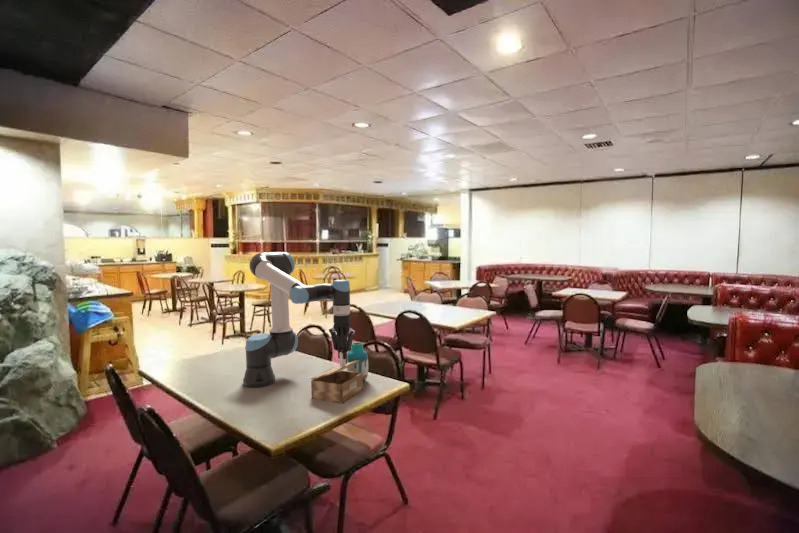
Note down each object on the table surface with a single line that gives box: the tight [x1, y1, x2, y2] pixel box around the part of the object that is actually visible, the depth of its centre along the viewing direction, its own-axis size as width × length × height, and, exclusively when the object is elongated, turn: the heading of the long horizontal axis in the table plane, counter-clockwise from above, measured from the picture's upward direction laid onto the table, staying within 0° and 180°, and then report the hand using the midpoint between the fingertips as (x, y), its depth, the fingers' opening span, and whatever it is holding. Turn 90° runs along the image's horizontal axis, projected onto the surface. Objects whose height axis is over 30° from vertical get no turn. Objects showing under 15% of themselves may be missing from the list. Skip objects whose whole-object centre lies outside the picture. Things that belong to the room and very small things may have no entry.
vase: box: [346, 341, 369, 382], centre depth 200 cm, size 11×11×19 cm
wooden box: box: [310, 369, 364, 405], centre depth 184 cm, size 16×18×8 cm
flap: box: [310, 360, 360, 381], centre depth 184 cm, size 16×17×1 cm
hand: (342, 365), depth 182 cm, fingers closed
